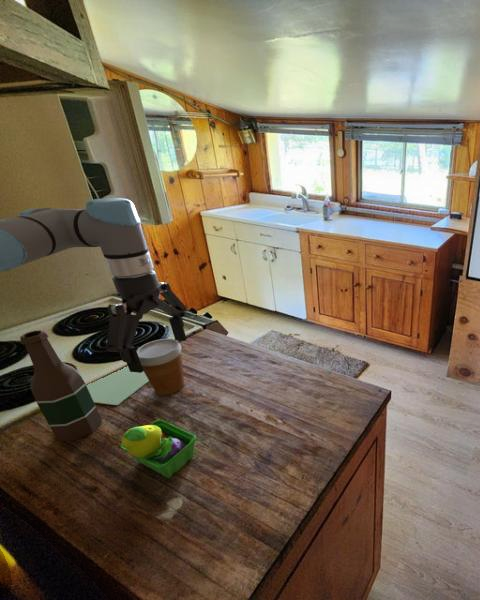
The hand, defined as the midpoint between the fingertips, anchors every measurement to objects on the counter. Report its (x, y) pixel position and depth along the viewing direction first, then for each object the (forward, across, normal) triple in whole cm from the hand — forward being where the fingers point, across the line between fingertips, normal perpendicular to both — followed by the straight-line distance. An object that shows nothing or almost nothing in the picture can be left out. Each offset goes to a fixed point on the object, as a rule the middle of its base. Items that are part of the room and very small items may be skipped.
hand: (160, 354), depth 79 cm
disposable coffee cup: (+10, 0, 0) cm, 10 cm away
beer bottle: (+10, -15, +9) cm, 21 cm away
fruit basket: (+10, -20, -15) cm, 27 cm away
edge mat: (+10, -1, +14) cm, 17 cm away
